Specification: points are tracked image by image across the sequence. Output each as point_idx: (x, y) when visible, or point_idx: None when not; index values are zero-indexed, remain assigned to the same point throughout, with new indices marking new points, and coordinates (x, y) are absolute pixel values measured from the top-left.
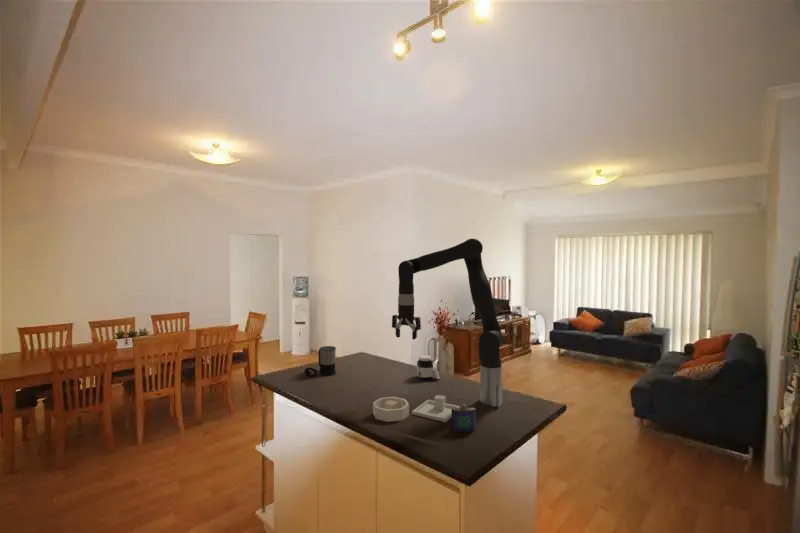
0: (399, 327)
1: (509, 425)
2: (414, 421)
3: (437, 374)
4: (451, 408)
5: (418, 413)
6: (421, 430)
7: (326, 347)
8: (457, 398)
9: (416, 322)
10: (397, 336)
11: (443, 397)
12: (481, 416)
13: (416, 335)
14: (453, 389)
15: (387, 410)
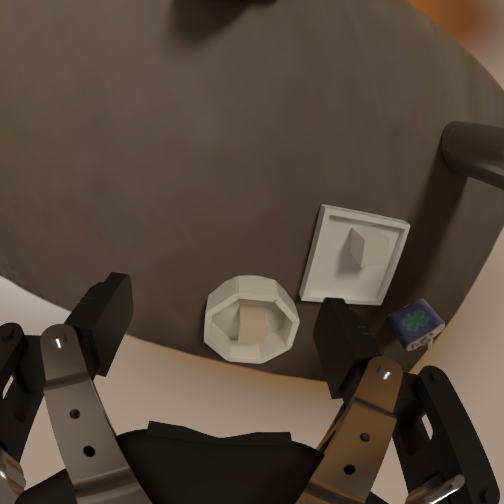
0: (79, 355)
1: (472, 250)
2: (311, 311)
3: None
4: (388, 226)
5: (318, 300)
6: None
7: None
8: (389, 128)
9: (417, 487)
10: (128, 322)
11: (384, 251)
12: (441, 229)
13: (363, 334)
14: (361, 53)
15: (260, 362)
